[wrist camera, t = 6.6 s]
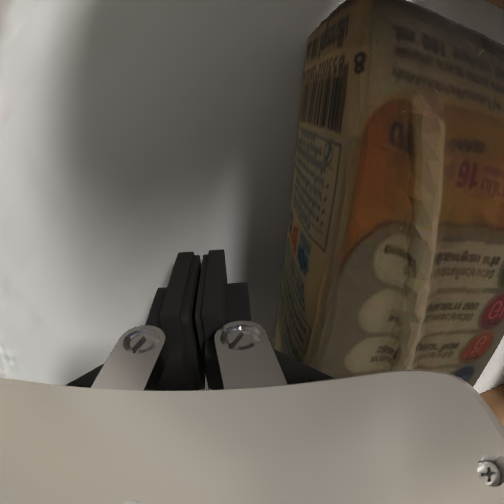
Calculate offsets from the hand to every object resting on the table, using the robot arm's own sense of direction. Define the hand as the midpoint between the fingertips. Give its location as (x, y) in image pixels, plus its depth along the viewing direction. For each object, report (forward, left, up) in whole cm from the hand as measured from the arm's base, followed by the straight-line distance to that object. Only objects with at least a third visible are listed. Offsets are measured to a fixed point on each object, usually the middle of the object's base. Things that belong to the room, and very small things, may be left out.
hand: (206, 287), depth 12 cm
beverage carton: (-1, -7, -2) cm, 7 cm away
